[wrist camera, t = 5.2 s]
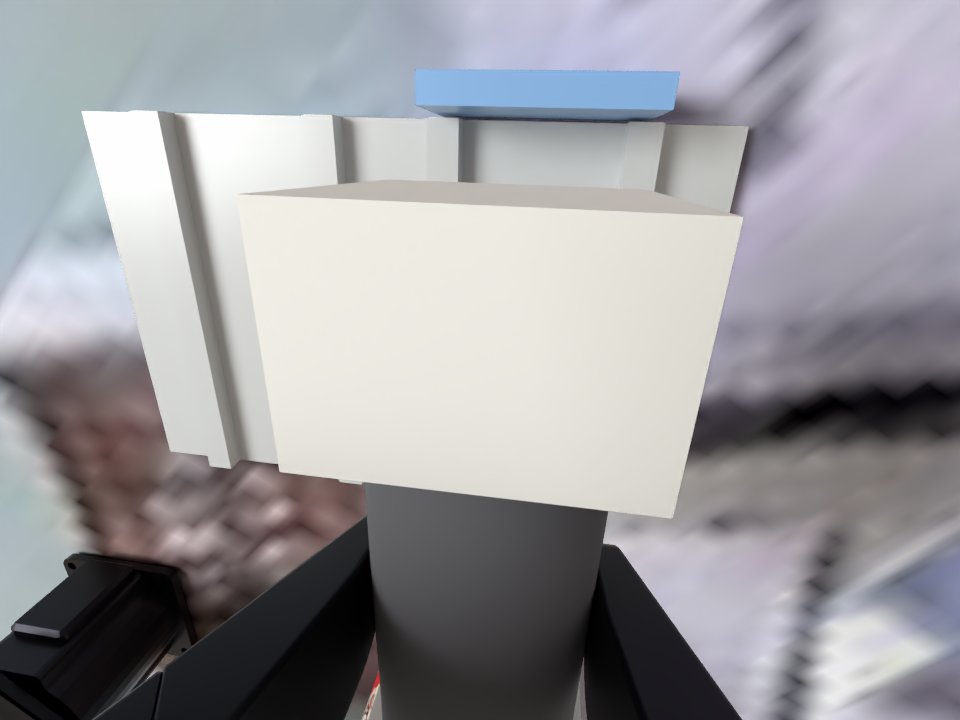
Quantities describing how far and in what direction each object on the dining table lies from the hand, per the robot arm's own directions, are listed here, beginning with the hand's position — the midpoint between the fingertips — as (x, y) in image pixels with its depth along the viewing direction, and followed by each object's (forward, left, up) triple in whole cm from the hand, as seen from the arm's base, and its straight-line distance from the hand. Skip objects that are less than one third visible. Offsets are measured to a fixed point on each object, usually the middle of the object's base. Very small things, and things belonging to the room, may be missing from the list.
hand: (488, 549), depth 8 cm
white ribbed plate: (0, +5, -11) cm, 12 cm away
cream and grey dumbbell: (0, 0, -1) cm, 1 cm away
